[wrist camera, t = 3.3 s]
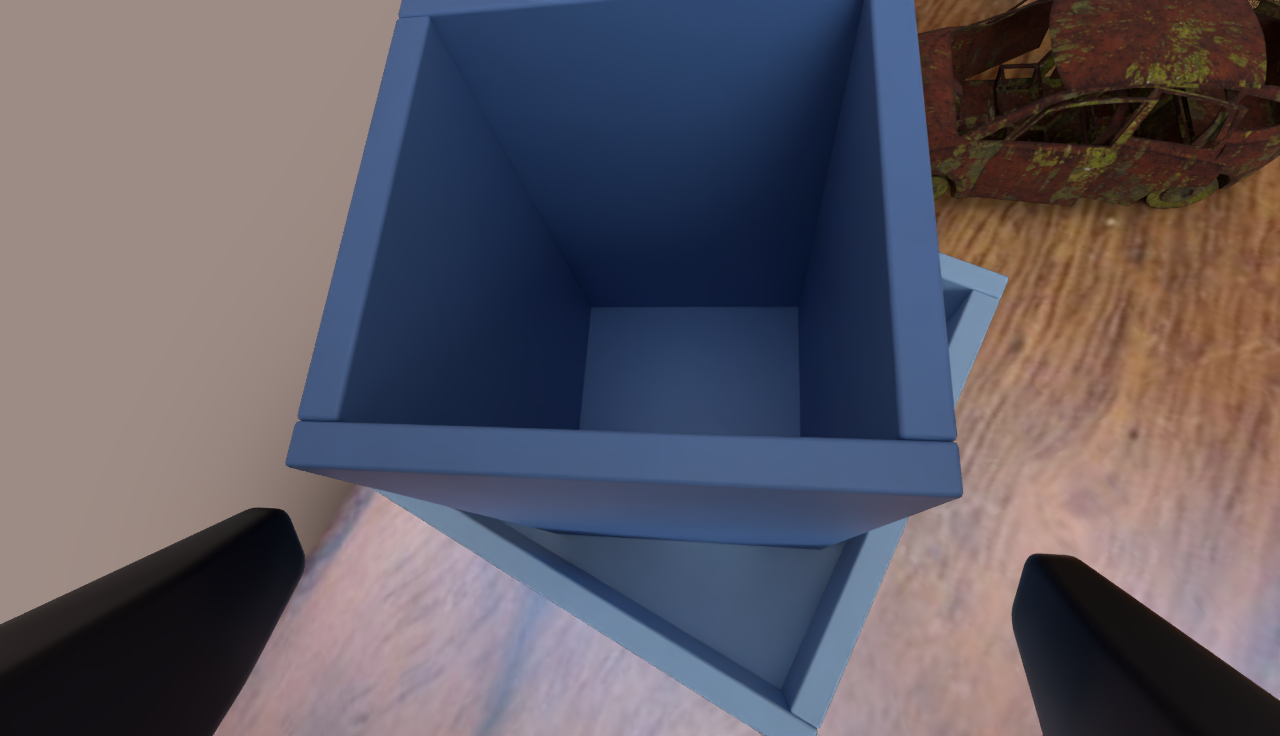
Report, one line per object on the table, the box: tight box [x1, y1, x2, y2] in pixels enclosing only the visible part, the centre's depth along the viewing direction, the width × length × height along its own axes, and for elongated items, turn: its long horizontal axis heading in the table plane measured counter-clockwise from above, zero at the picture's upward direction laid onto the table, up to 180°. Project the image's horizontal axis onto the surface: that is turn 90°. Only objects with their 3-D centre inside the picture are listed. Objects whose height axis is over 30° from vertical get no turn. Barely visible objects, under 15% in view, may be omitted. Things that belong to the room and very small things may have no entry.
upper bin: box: [286, 0, 963, 550], centre depth 11 cm, size 7×7×10 cm
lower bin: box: [372, 252, 1008, 736], centre depth 17 cm, size 11×11×6 cm
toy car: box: [918, 0, 1280, 209], centre depth 19 cm, size 12×7×5 cm, turn 84°
